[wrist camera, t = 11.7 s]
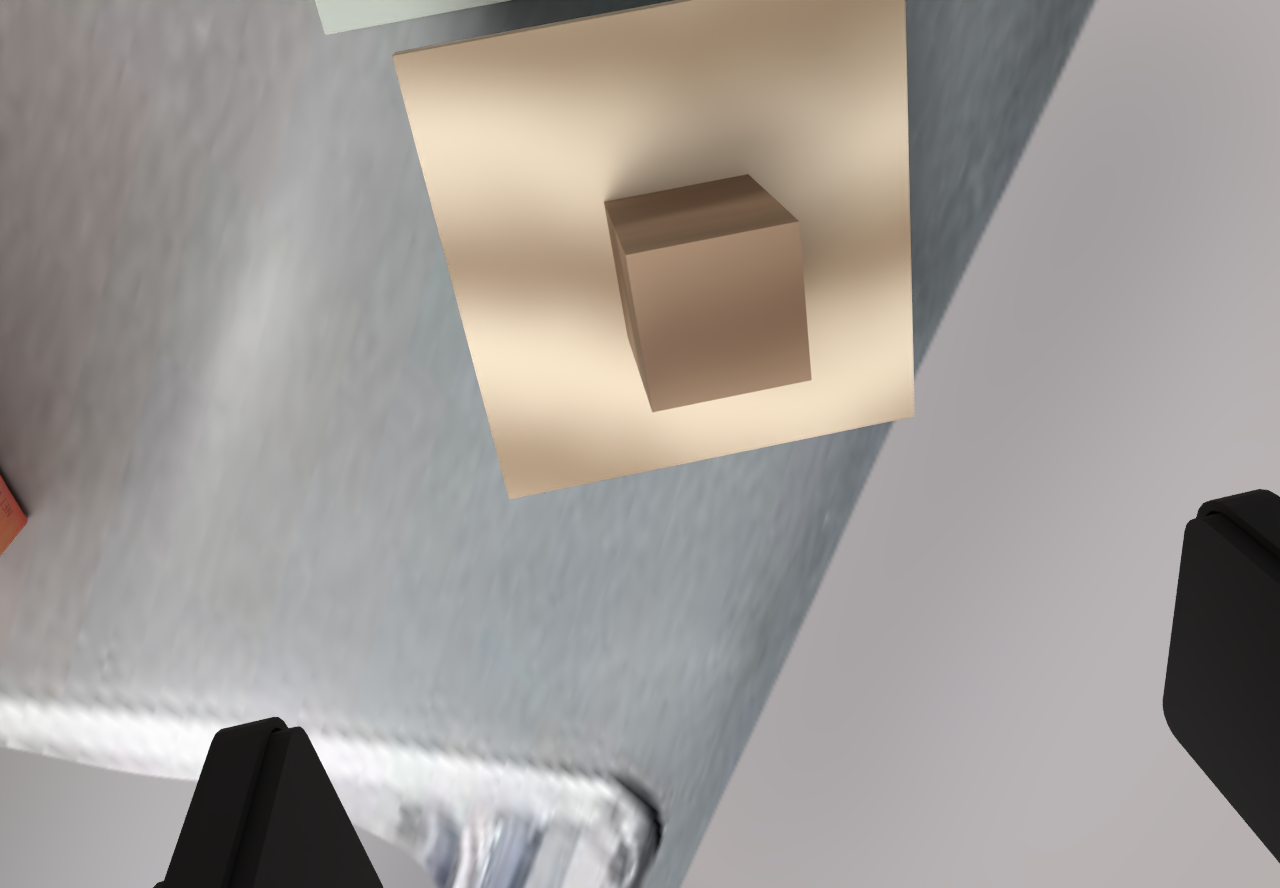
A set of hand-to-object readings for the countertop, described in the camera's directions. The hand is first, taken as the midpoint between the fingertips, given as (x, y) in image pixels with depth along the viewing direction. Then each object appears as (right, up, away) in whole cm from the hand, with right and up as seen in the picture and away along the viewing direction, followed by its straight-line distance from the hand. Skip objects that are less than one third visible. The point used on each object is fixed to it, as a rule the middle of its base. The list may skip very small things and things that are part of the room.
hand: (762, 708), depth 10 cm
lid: (0, +8, +18) cm, 20 cm away
